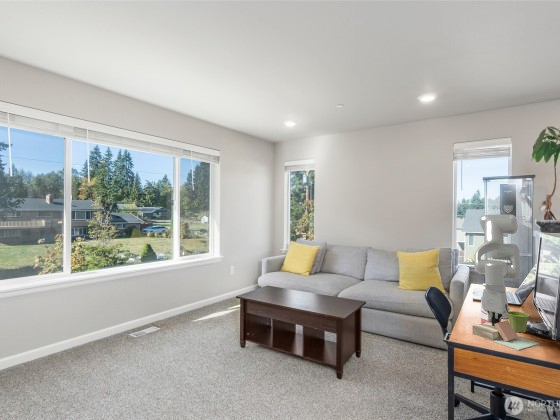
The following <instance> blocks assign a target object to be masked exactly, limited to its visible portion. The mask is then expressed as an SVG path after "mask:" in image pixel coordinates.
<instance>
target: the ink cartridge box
mask: <svg viewBox="0 0 560 420" xmlns="http://www.w3.org/2000/svg"><path fill="white" fill-rule="evenodd" d="M487 322H491V317H490V315H489V313H488V312H486V311H484V309H483V308H482V296H481V298H480V324H482V323H487ZM500 322H502V318H500Z"/></svg>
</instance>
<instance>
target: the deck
mask: <svg viewBox="0 0 560 420" xmlns="http://www.w3.org/2000/svg"><path fill="white" fill-rule="evenodd" d="M471 329H472V335H475V336H477V337H480V338H484V339H485V340H486V339H487V340H489V341H492V342H493V341H495V340H499V339H502V336H501V335H500V333H499V331H498V330H497V328H496V327H495V326H492V323H491V322H487V323H479V324H475V325H472V328H471Z"/></svg>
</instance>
